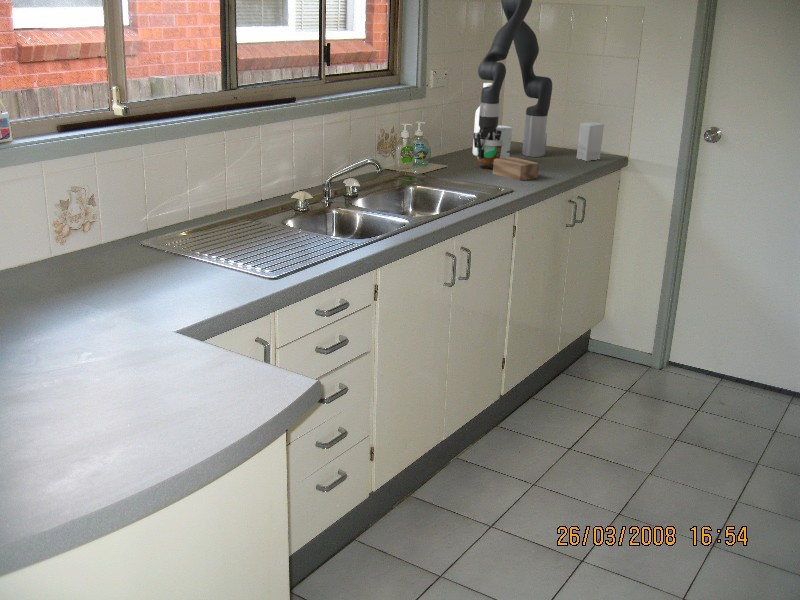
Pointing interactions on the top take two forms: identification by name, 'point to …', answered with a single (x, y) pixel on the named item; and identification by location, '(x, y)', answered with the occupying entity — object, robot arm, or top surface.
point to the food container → (490, 151)
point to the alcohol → (476, 125)
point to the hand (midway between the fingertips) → (485, 157)
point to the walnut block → (515, 168)
